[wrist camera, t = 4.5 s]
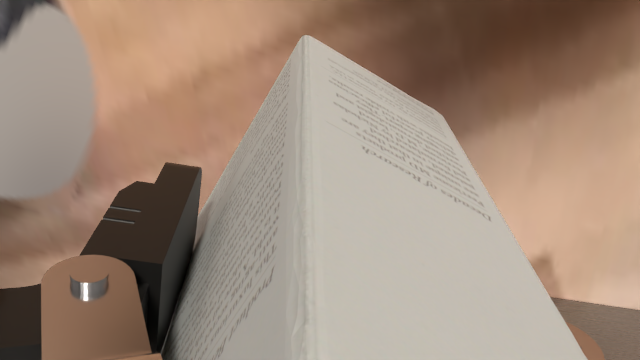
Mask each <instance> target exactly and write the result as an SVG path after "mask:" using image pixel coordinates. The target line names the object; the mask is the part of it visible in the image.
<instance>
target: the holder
mask: <svg viewBox="0 0 640 360" xmlns="http://www.w3.org/2000/svg"><path fill="white" fill-rule="evenodd" d="M550 298H551V297H550ZM551 300H552V301H553V303H554V304H555V306H556V308H557V309H558V311H559V312H560V314H561V316H562V317H563V319H564V321H565V322H567V323H570V324H572V325H573V326H575V327H577V328H579V329H580V330H582V331H583V332H585V333H586V334H587V335H589V336H590V337H591V338H592V339H593V340H594V341H595V342H596V343H597V344H598V346H599V347H600V349H601V350H602V352H603V355H604V359H605V360H640V310H633V309H626V308H619V307H612V306H606V305H599V304H592V303H585V302H578V301H572V300H565V299H558V298H551Z"/></svg>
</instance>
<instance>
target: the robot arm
mask: <svg viewBox="0 0 640 360" xmlns="http://www.w3.org/2000/svg"><path fill="white" fill-rule="evenodd" d="M201 176H202V169H201V168H200V167H194V166H187V165H181V164H174V163H168V162H166V163H165V165H164V167H163V169H162V170H161V172H160V174H159V176H158V178H157V180H156V182H155V184H153V183H146V182H139V181H136V182H134V183H133V184H131V185H129V186H128V187H126V188H124V189H122V190H121V191H119V192H118V194H117V196H116V197H115V199H114V200H113V202H112V204H111V205H110V208H108V210H107V212H106V213H105V215H104V217H103V220H101V221H100V223H99V225H98V226H97V228H96V230H95V231H94V233H93V234H92V236H91V238H90V239H89V241H88V243H87V244H86V246H85V247H84V249H83V251H82V252H81V254H80V255H79V256H76V257H72V258H69V259H66V260H63V261H61V262H59V263H57V264H55V265H54V266H52V267H51V268H50V269H49V270H48V271H47V272H46V273H45V274H44V276H43V278H42V282H41V284H38V285H33V286H28V287H20V288H7V289H0V360H162V357H161V352H162V348H163V345H164V342H165V339H166V336H167V333H168V330H169V327H170V323H171V320H172V317H173V314H174V311H175V308H176V305H177V301H178V298H179V295H180V292H181V289H182V286H183V282H184V279H185V276H186V273H187V269H188V266H189V263H190V260H191V256H192V253H193V248H194V243H195V237H196V228H197V218H198V208H199V198H200V187H201ZM566 324H567V326H568V327H569V329H570V331H571V332H572V334H573V336H574V337H575V339H576V341H577V343H578V344H579V346H580V348H581V350H582V352H583V353H584V355H585V356H586V358H587V359H588V360H605V359H604V355H603V352H602V350H601V349H600V347H599V346H598V344H597V343H596V342H595V341H594V340H593V339H592V338H591V337H590V336H589V335H587V334H586V333H585V332H583V331H582V330H580V329H579V328H577V327H575V326H573V325H572V324H570V323H567V322H566Z"/></svg>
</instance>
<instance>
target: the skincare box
mask: <svg viewBox="0 0 640 360" xmlns="http://www.w3.org/2000/svg"><path fill="white" fill-rule="evenodd" d="M161 357H162V360H588V359H587V358H586V356H585V355H584V353H583V352H582V350H581V348H580V346H579V344H578V343H577V341H576V339H575V337H574V336H573V334H572V332H571V331H570V329H569V327H568V326H567V324H566V322H565V321H564V319H563V317H562V316H561V314H560V312H559V311H558V309H557V308H556V306H555V304H554V303H553V301H552V300H551V298H550V296H549V295H548V293H547V291H546V290H545V288H544V286H543V284H542V283H541V281H540V279H539V278H538V276H537V274H536V272H535V271H534V269H533V267H532V266H531V264H530V262H529V261H528V259H527V257H526V256H525V254H524V252H523V251H522V249H521V247H520V245H519V244H518V242H517V240H516V239H515V237H514V235H513V233H512V232H511V230H510V228H509V227H508V225H507V223H506V222H505V220H504V218H503V217H502V215H501V213H500V212H499V210H498V208H497V206H496V205H495V203H494V201H493V200H492V198H491V196H490V195H489V193H488V191H487V190H486V188H485V186H484V185H483V183H482V181H481V179H480V177H479V176H478V174H477V172H476V171H475V169H474V168H473V166H472V164H471V162H470V161H469V159H468V157H467V156H466V154H465V152H464V151H463V149H462V147H461V146H460V144H459V142H458V141H457V139H456V137H455V135H454V134H453V132H452V130H451V129H450V127H449V125H448V123H447V122H446V120H445V119H444V117H443V115H441V114H440V113H438V112H437V111H436V110H434V109H433V108H431V107H429V106H427V105H425V104H424V103H422V102H420V101H418V100H416V99H415V98H413V97H411V96H409V95H408V94H406V93H404V92H403V91H401V90H400V89H398V88H396V87H395V86H393V85H391V84H390V83H388V82H387V81H385V80H383V79H382V78H380V77H378V76H377V75H375V74H373V73H372V72H370V71H368V70H367V69H365V68H363V67H362V66H360V65H358V64H357V63H355V62H353V61H352V60H350V59H348V58H347V57H345V56H343V55H342V54H340V53H338V52H337V51H335V50H333V49H332V48H330V47H328V46H327V45H325V44H323V43H322V42H320V41H318V40H317V39H315V38H313V37H311V36H309V35H304V36H302V37H301V38H300V40H299V42H298V43H297V45H296V47H295V48H294V50H293V52H292V54H291V55H290V57H289V59H288V61H287V62H286V64H285V66H284V67H283V69H282V71H281V73H280V74H279V76H278V78H277V79H276V81H275V83H274V85H273V86H272V88H271V90H270V92H269V93H268V95H267V97H266V99H265V100H264V102H263V104H262V106H261V107H260V109H259V111H258V113H257V114H256V116H255V118H254V119H253V121H252V123H251V125H250V126H249V128H248V130H247V132H246V133H245V135H244V137H243V138H242V140H241V142H240V144H239V145H238V147H237V149H236V151H235V152H234V154H233V156H232V158H231V159H230V161H229V163H228V165H227V166H226V168H225V170H224V172H223V173H222V175H221V177H220V179H219V180H218V182H217V184H216V186H215V187H214V189H213V191H212V193H211V194H210V196H209V198H208V200H207V201H206V203H205V205H204V207H203V208H202V210H201V212H200V213H199V215H198V218H197V228H196V237H195V243H194V248H193V253H192V256H191V260H190V263H189V266H188V269H187V273H186V276H185V279H184V282H183V286H182V289H181V292H180V295H179V298H178V301H177V305H176V308H175V311H174V314H173V317H172V320H171V323H170V327H169V330H168V333H167V336H166V339H165V342H164V345H163V348H162V352H161Z"/></svg>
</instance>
